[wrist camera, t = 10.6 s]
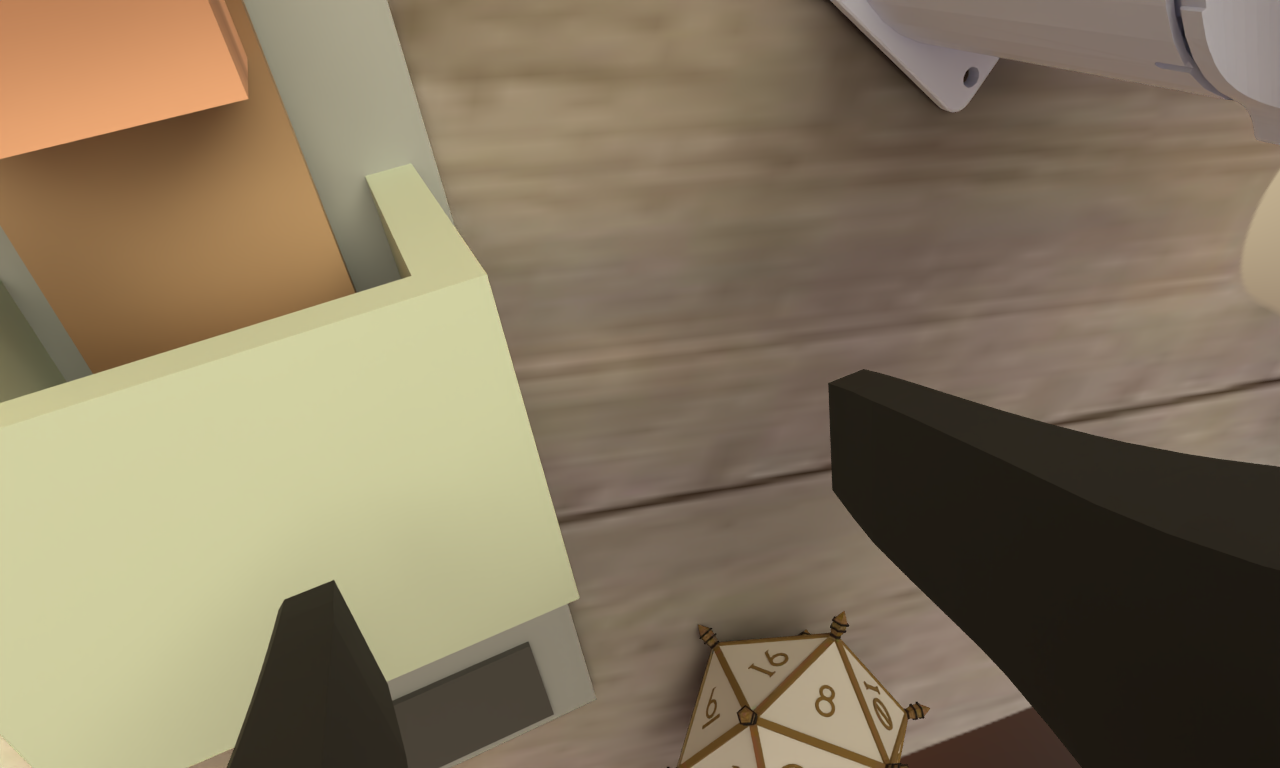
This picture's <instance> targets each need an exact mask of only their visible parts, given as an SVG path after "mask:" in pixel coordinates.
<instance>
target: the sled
mask: <svg viewBox="0 0 1280 768" xmlns="http://www.w3.org/2000/svg"><path fill="white" fill-rule="evenodd" d="M0 226H1V227H2V229H3V230H4V232H5V234H6V235H7V237H8V238H9V240H10V242H11V243H12V245H13V246H14V248H15V250H16V251H17V253H18V254H19V256H20V258H21V259H22V261H23V262H24V264H25V266H26V267H27V269H28V271H29V272H30V274H31V275H32V277H33V279H34V280H35V282H36V283H37V285H38V287H39V288H40V290H41V291H42V293H43V295H44V296H45V298H46V299H47V301H48V303H49V304H50V306H51V307H52V309H53V311H54V312H55V314H56V315H57V317H58V319H59V320H60V322H61V323H62V325H63V327H64V328H65V330H66V331H67V333H68V335H69V336H70V338H71V339H72V341H73V343H74V344H75V346H76V347H77V349H78V351H79V352H80V354H81V355H82V357H83V359H84V360H85V362H86V363H87V365H88V367H89V368H90V370H91V371H92V373H93V374H96V373H99V372H102V371H105V370H109V369H112V368H115V367H118V366H122V365H125V364H128V363H131V362H135V361H138V360H141V359H144V358H148V357H151V356H154V355H157V354H160V353H164V352H167V351H170V350H173V349H177V348H180V347H183V346H186V345H190V344H193V343H196V342H199V341H202V340H206V339H209V338H212V337H215V336H219V335H222V334H225V333H228V332H232V331H235V330H238V329H241V328H245V327H248V326H251V325H254V324H257V323H261V322H264V321H267V320H270V319H274V318H277V317H280V316H283V315H287V314H290V313H293V312H296V311H300V310H303V309H306V308H309V307H312V306H316V305H319V304H322V303H325V302H329V301H332V300H335V299H338V298H342V297H345V296H348V295H351V294H355V293H357V292H356V289H355V287H354V284H353V281H352V279H351V276H350V274H349V271H348V269H347V266H346V263H345V261H344V258H343V256H342V253H341V251H340V248H339V245H338V243H337V240H336V238H335V235H334V233H333V230H332V227H331V225H330V222H329V220H328V217H327V214H326V212H325V209H324V207H323V204H322V202H321V199H320V196H319V194H318V191H317V189H316V186H315V184H314V181H313V178H312V176H311V173H310V171H309V168H308V166H307V163H306V160H305V158H304V155H303V153H302V150H301V147H300V145H299V142H298V140H297V137H296V135H295V132H294V129H293V127H292V124H291V122H290V119H289V117H288V114H287V111H286V109H285V106H284V104H283V101H282V99H281V96H280V93H279V91H278V88H277V86H276V83H275V80H274V78H273V75H272V73H271V70H270V68H269V65H268V62H267V60H266V57H265V55H264V52H263V50H262V47H261V44H260V42H259V39H258V37H257V34H256V32H255V29H254V26H253V24H252V21H251V19H250V16H249V13H248V11H247V8H246V6H245V3H244V1H243V0H0Z"/></svg>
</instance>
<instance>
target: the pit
mask: <svg viewBox="0 0 1280 768" xmlns="http://www.w3.org/2000/svg"><path fill="white" fill-rule="evenodd" d="M392 702H393V706H394V709H395V713H396V717H397V721H398V725H399V729H400V733H401V737H402V741H403V745H404V749H405V753H406V757H407V765H408V768H440V767H442V766H444V765H447V764H449V763H451V762H453V761H455V760H457V759H460V758H462V757H464V756H466V755H468V754H470V753H472V752H475V751H477V750H479V749H481V748H483V747H485V746H487V745H490V744H492V743H494V742H496V741H498V740H500V739H502V738H505V737H507V736H509V735H511V734H513V733H515V732H517V731H520V730H522V729H524V728H526V727H528V726H530V725H533V724H535V723H537V722H539V721H541V720H543V719H545V718H548V717H550V716H552V715H554V712H553V710H552V707H551V704H550V701H549V698H548V695H547V693H546V690H545V687H544V684H543V681H542V678H541V675H540V673H539V670H538V667H537V664H536V661H535V658H534V655H533V653H532V650H531V647H530V644H529V642H525V643H523V644H521V645H518V646H516V647H514V648H512V649H509V650H507V651H505V652H503V653H500V654H498V655H496V656H493V657H491V658H489V659H487V660H484V661H482V662H480V663H477V664H475V665H473V666H471V667H468V668H466V669H464V670H461V671H459V672H457V673H455V674H452V675H450V676H448V677H445V678H443V679H441V680H439V681H436V682H434V683H432V684H430V685H427V686H425V687H423V688H420V689H418V690H416V691H414V692H411V693H409V694H407V695H404V696H402V697H400V698H398V699H395V700H393V701H392Z"/></svg>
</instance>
